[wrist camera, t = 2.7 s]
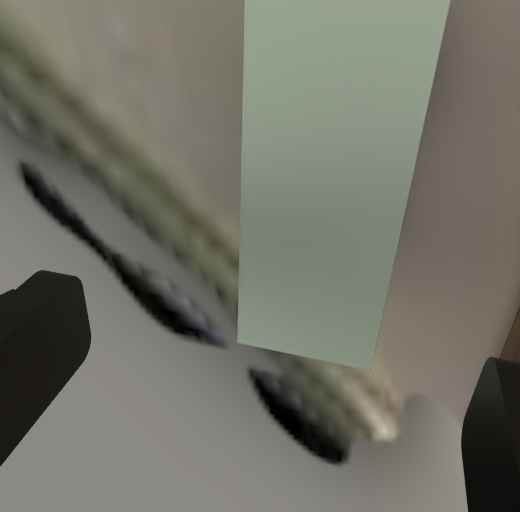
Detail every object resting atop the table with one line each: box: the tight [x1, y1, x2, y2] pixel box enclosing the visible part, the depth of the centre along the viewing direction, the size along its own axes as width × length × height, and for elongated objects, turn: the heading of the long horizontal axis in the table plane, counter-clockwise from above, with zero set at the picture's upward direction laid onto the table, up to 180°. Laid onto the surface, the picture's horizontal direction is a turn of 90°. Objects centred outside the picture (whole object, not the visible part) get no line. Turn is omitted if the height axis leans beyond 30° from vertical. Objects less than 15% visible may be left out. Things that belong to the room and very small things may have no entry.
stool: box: [238, 0, 451, 371], centre depth 19 cm, size 5×12×10 cm, turn 177°
